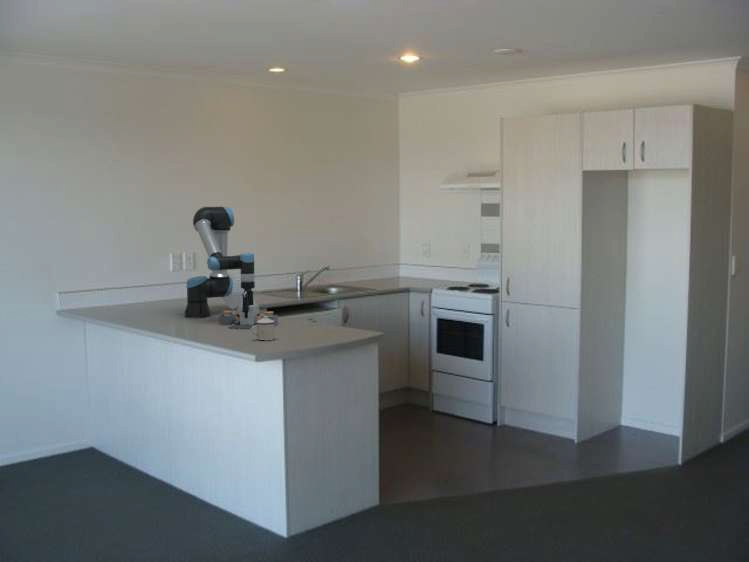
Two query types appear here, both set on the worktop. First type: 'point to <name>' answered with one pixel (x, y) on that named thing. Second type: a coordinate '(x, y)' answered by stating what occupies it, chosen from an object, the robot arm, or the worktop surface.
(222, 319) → the housing
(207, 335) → the worktop surface
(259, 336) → the teacup with lid
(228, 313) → the plunger
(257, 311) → the white red kettle
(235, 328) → the mat
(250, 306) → the small box
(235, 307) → the heart
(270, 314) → the plunger
